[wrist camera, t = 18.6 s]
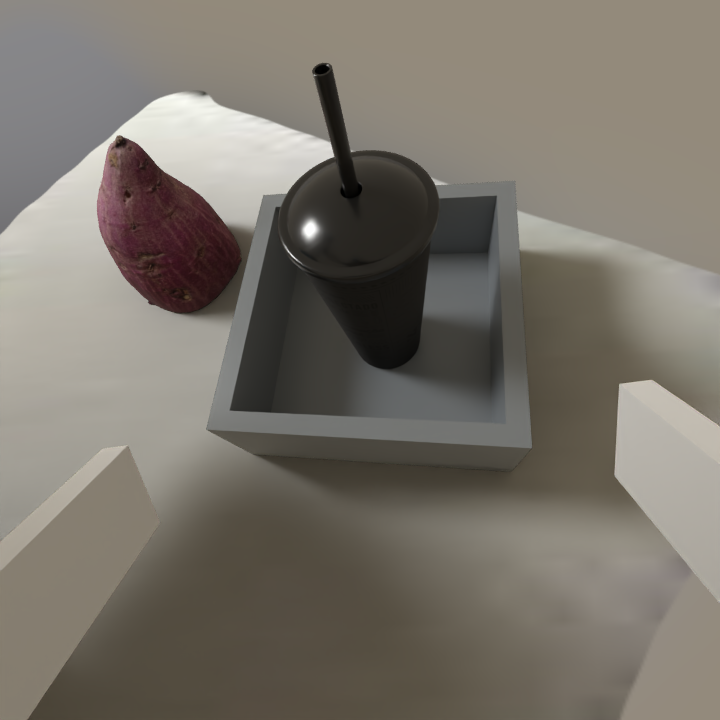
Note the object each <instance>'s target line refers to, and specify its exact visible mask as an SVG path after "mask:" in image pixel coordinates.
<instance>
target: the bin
mask: <svg viewBox="0 0 720 720" xmlns="http://www.w3.org/2000/svg"><path fill="white" fill-rule="evenodd" d="M435 186H436V188H437V191H438V195H439V201H440V214H439V221H438V225H437V228H436V231H435V233H434V235H433V237H432V239H431V245H430V254H429V263H428V272H427V281H426V290H425V299H424V308H423V317H422V326H421V335H420V343H419V347H418V350H417V352H416V353H415V355H414V356H413V357H412V358H411V359H410V360H409V361H408V362H407V363H405V364H404V365H402V366H399V367H397V368H392V369H380V368H376V367H373V366H371V365H369V364H368V363H366V362H365V361H364V360H363V359H362V358H361V356H360V355H359V353H358V352H357V350H356V349H355V347H354V346H353V344H352V343H351V341H350V340H349V338H348V337H347V335H346V334H345V332H344V331H343V329H342V328H341V326H340V325H339V323H338V322H337V320H336V319H335V317H334V316H333V314H332V313H331V311H330V310H329V308H328V307H327V305H326V303H325V302H324V300H323V299H322V297H321V296H320V294H319V293H318V291H317V290H316V288H315V287H314V285H313V284H312V282H311V281H310V279H309V278H308V276H307V275H306V273H305V272H304V271H302V270H301V269H299V268H298V267H297V266H296V265H295V264H294V263H293V262H292V261H291V260H290V258H289V257H288V255H287V254H286V252H285V251H284V249H283V246H282V244H281V242H280V239H279V234H278V216H279V211H280V208H281V205H282V202H283V200H284V198H285V196H286V195H287V194H276V195H263V199H262V203H261V207H260V211H259V215H258V219H257V223H256V227H255V231H254V235H253V240H252V244H251V248H250V252H249V256H248V260H247V264H246V268H245V272H244V276H243V280H242V285H241V289H240V293H239V297H238V301H237V305H236V309H235V313H234V317H233V321H232V326H231V330H230V334H229V338H228V342H227V346H226V350H225V354H224V358H223V362H222V367H221V371H220V375H219V379H218V383H217V387H216V391H215V395H214V399H213V403H212V408H211V412H210V416H209V420H208V424H207V428H206V430H208V431H210V432H212V433H213V434H215V435H217V436H219V437H221V438H223V439H225V440H227V441H229V442H231V443H233V444H234V445H236V446H238V447H240V448H242V449H244V450H246V451H248V452H250V453H252V454H256V455H271V456H286V457H300V458H315V459H330V460H345V461H359V462H374V463H389V464H404V465H419V466H433V467H448V468H463V469H478V470H492V471H507V472H511V471H512V470H513V469H514V468H515V467H516V466H517V464H518V463H519V462H520V461H521V460H522V459H523V458H524V457H525V456H526V454H527V453H528V452H529V451H530V450H531V449H532V439H531V423H530V407H529V391H528V376H527V360H526V344H525V329H524V313H523V297H522V281H521V266H520V250H519V234H518V218H517V203H516V188H515V181H506V182H489V183H488V182H487V183H471V184H452V185H435Z"/></svg>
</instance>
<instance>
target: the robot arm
mask: <svg viewBox="0 0 720 720" xmlns="http://www.w3.org/2000/svg"><path fill="white" fill-rule="evenodd" d="M614 476H615V477H616V478H617V480H618V481H619V482H620V483H621V484H622V486H623V487H624V488H625V489H626V490H627V492H628V493H629V494H630V495H631V497H632V498H633V499H634V500H635V501H636V503H637V504H638V505H639V506H640V507H641V509H642V510H643V511H644V512H645V514H646V515H647V516H648V517H649V518H650V520H651V521H652V522H653V523H654V524H655V526H656V527H657V528H658V529H659V530H660V532H661V533H662V534H663V535H664V537H665V538H666V539H667V540H668V541H669V543H670V544H671V545H672V546H673V547H674V549H675V550H676V551H677V552H678V554H679V555H680V556H681V557H682V558H683V560H684V561H685V562H686V563H687V564H688V566H689V567H690V568H691V569H692V571H693V572H694V573H695V574H696V575H697V577H698V578H699V579H700V580H701V581H702V583H703V584H704V585H705V586H706V587H707V588H708V590H709V591H710V592H711V593H712V595H713V596H714V597H715V598H716V600H717V601H718V602H719V603H720V426H719V425H717V424H716V423H714V422H713V421H711V420H710V419H708V418H707V417H705V416H704V415H703V414H701V413H700V412H698V411H697V410H695V409H694V408H692V407H691V406H689V405H688V404H687V403H685V402H684V401H682V400H681V399H679V398H678V397H676V396H675V395H673V394H672V393H671V392H669V391H668V390H666V389H665V388H663V387H662V386H660V385H659V384H657V383H656V382H655V381H653V380H646V381H638V382H630V383H622V384H619V398H618V417H617V437H616V456H615V475H614ZM159 524H160V521H159V518H158V516H157V514H156V511H155V509H154V506H153V504H152V502H151V499H150V497H149V495H148V492H147V490H146V487H145V485H144V483H143V480H142V478H141V475H140V473H139V471H138V468H137V466H136V464H135V461H134V459H133V456H132V454H131V452H130V449H129V447H128V445H127V446H119V447H111V448H103V449H102V450H101V451H99V452H98V453H97V454H96V455H95V456H94V457H93V458H92V459H91V460H90V461H88V462H87V463H86V464H85V465H84V466H83V467H82V468H81V469H80V470H79V471H77V472H76V473H75V474H74V475H73V476H72V477H71V478H70V479H69V480H68V481H66V482H65V483H64V484H63V485H62V486H61V487H60V488H59V489H58V490H57V491H55V492H54V493H53V494H52V495H51V496H50V497H49V498H48V499H47V500H46V501H44V502H43V503H42V504H41V505H40V506H39V507H38V508H37V509H36V510H35V511H33V512H32V513H31V514H30V515H29V516H28V517H27V518H26V519H25V520H24V521H22V522H21V523H20V524H19V525H18V526H17V527H16V528H15V529H14V530H13V531H11V532H10V533H9V534H8V535H7V536H6V537H5V538H4V539H3V540H2V541H0V720H27V719H28V718H29V717H30V715H31V714H32V712H33V711H34V709H35V708H36V706H37V705H38V703H39V702H40V700H41V699H42V697H43V696H44V694H45V693H46V691H47V690H48V688H49V687H50V685H51V684H52V683H53V681H54V680H55V678H56V677H57V675H58V674H59V672H60V671H61V669H62V668H63V666H64V665H65V663H66V662H67V660H68V659H69V657H70V656H71V654H72V653H73V651H74V650H75V648H76V647H77V646H78V644H79V643H80V641H81V640H82V638H83V637H84V635H85V634H86V632H87V631H88V629H89V628H90V626H91V625H92V623H93V622H94V620H95V619H96V617H97V616H98V614H99V613H100V611H101V610H102V609H103V607H104V606H105V604H106V603H107V601H108V600H109V598H110V597H111V595H112V594H113V592H114V591H115V589H116V588H117V586H118V585H119V583H120V582H121V580H122V579H123V577H124V576H125V575H126V573H127V572H128V570H129V569H130V567H131V566H132V564H133V563H134V561H135V560H136V558H137V557H138V555H139V554H140V552H141V551H142V549H143V548H144V546H145V545H146V543H147V542H148V540H149V539H150V538H151V536H152V535H153V533H154V532H155V530H156V529H157V527H158V526H159Z"/></svg>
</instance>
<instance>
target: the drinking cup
mask: <svg viewBox="0 0 720 720" xmlns="http://www.w3.org/2000/svg"><path fill="white" fill-rule="evenodd" d="M312 73H313V77H314V81H315V84H316V88H317V92H318V96H319V100H320V103H321V107H322V111H323V115H324V119H325V122H326V126H327V130H328V134H329V137H330V141H331V145H332V149H333V153H334V156H335V157H333V158H330V159H328V160H326V161H324V162H322V163H320V164H318V165H317V166H315V167H313V168H312V169H310V170H309V171H308V172H306V173H305V174H304V175H303V176H302V177H300V178H299V179H298V180H297V181H296V183H295V184H294V185H293V186H292V187H291V189H290V190H289V191H288V193H287V195H286V196H285V198H284V200H283V202H282V205H281V208H280V211H279V216H278V234H279V239H280V242H281V244H282V246H283V249H284V251H285V252H286V254H287V255H288V257H289V258H290V260H291V261H292V262H293V263H294V264H295V265H296V266H297V267H298V268H299V269H301V270H302V271H304V272H305V273H306V275H307V276H308V278H309V279H310V281H311V282H312V284H313V285H314V287H315V288H316V290H317V291H318V293H319V294H320V296H321V297H322V299H323V300H324V302H325V303H326V305H327V307H328V308H329V310H330V311H331V313H332V314H333V316H334V317H335V319H336V320H337V322H338V323H339V325H340V326H341V328H342V329H343V331H344V332H345V334H346V335H347V337H348V338H349V340H350V341H351V343H352V344H353V346H354V347H355V349H356V350H357V352H358V353H359V355H360V356H361V358H362V359H363V360H364V361H365V362H366V363H368V364H369V365H371V366H373V367H376V368H380V369H392V368H397V367H399V366H402V365H404V364H405V363H407V362H408V361H409V360H410V359H411V358H412V357H413V356H414V355H415V353H416V352H417V350H418V347H419V343H420V335H421V326H422V317H423V308H424V299H425V290H426V281H427V272H428V263H429V254H430V245H431V239H432V237H433V235H434V233H435V231H436V228H437V225H438V221H439V214H440V201H439V195H438V191H437V188H436V186H435V184H434V182H433V180H432V179H431V177H430V176H429V175H428V173H427V172H426V171H425V170H424V169H423V168H422V167H421V166H419V165H418V164H417V163H415V162H414V161H412V160H410V159H408V158H406V157H404V156H401V155H398V154H395V153H391V152H386V151H376V150H366V151H356V152H351V151H350V146H349V142H348V137H347V132H346V128H345V123H344V119H343V114H342V110H341V105H340V101H339V96H338V92H337V87H336V83H335V78H334V73H333V69H332V66H331V65H330V64H328V63H321V64H318V65H317V66H315V67H314V68H313V70H312Z"/></svg>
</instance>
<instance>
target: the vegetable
mask: <svg viewBox="0 0 720 720" xmlns="http://www.w3.org/2000/svg"><path fill="white" fill-rule="evenodd" d="M97 215H98V221H99V228H100V232H101V235H102V238H103V240H104V242H105V244H106V246H107V248H108V250H109V252H110V254H111V256H112V257H113V259H114V261H115V263H116V264H117V266H118V268H119V269H120V271H121V273H122V275H123V276H124V277H125V279H126V280H127V281H128V282H129V283H130V284H131V285H132V286H133V287H134V288H135V289H136V290H137V291H138V292H139V293H140V294H141V295H142V296H143V297H145V298H146V299H147V300H149V302H148V303H149V304H154V305H156V306H159V307H160V308H163V309H165V310H168V311H172V312H175V313H185V312H192V311H195V310H199V309H201V308H203V307H205V306H206V305H208V304H209V303H210V302H211V301H212V300H214V299H215V298H216V297H217V296H218V295H219V294H220V293H221V292H222V291H223V289H224V288H225V287H226V285H227V284H228V283H229V281H230V280H231V279H232V277H233V276H234V275H235V273H236V272H237V269H238V266H239V263H240V262H241V259H242V258H241V257H240V255H241V253H240V249H239V247H238V244H237V242H236V240H235V238H234V236H233V235H232V233H231V232H230V231H229V229H228V228H227V226H226V225H225V224H224V222H223V221H222V219H221V218H220V217H219V216H218V215H217V213H216V212H215V211H214V209H213V208H212V207H211V206H210V205H209V203H208V202H206V201H205V200H204V198H203V197H202V196H200V195H199V194H198V193H197V192H195V191H194V190H192V189H191V188H190V187H188V186H186V185H185V184H183V183H182V182H180V181H178V180H177V179H175V178H173V177H172V176H170V175H168V174H167V173H165V172H164V171H163V170H161V169H160V168H159V167H158V166H157V165H156V164H155V162H154V161H153V160H152V159H151V158H150V156H149V155H148V154H147V153H146V152H145V151H144V150H143V149H142V148H141V147H140V146H139V145H138V144H137V143H135V142H133V141H131V140H129V139H127V138H124V137H122V136H120V135H119V136H117V137H116V140H115V141H114V142H113V143H112V144H111V145H110V146H109V148H108V152H107V156H106V161H105V166H104V172H103V178H102V182H101V186H100V188H99V194H98V200H97Z"/></svg>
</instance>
